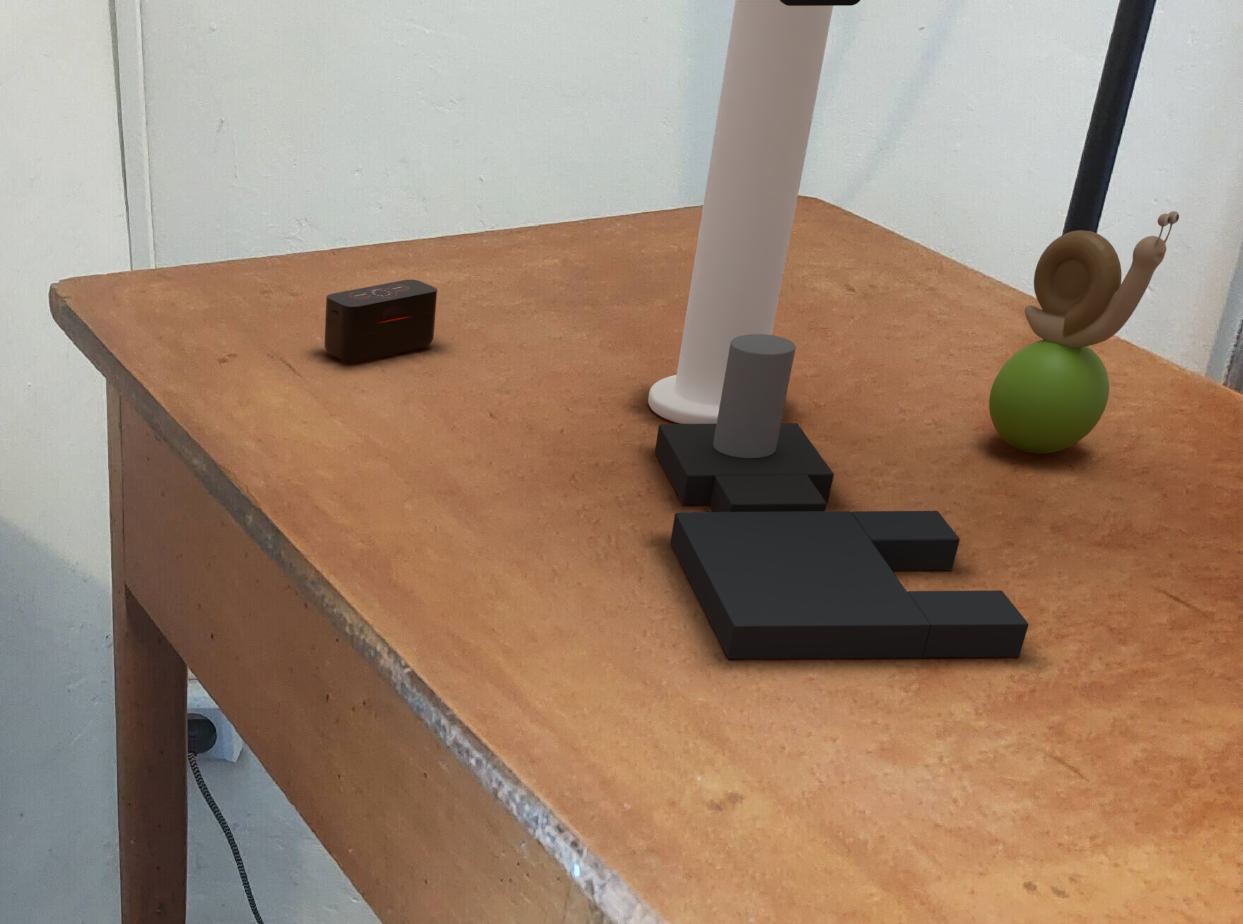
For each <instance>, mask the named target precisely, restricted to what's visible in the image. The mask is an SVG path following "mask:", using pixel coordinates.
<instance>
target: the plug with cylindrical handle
mask: <svg viewBox="0 0 1243 924" xmlns="http://www.w3.org/2000/svg"><path fill="white" fill-rule="evenodd" d="M796 349H797V348H796V344H795V343H794V342H793V341H792V340H790V339H787V338H785V337H782V336H779V335H773V334H772V335H765V334H750V335H743V336H738V337H736V338H734V339H733V340H732V341H731V343H730V349H729V355H728V360H727V366H726V372H725V378H724V384H723V389H722V395H721V401H720V407H719V412H718V418H717V424H679V423H660V424H658V428H657V435H656V442H655V448H654V454H655V455H656V458H657V459H658V461H659V463H660V465H661V467H662V469H663V470H664V472H665V475H666V476H667V478H668V480H669V482H670V484H671V485H672V486H671V487H672V488H673V489H674V491H675V493H676V495H677V497H678V499H679V501H680V503H681V504H682V505H683V506H710V508H711V509H712V512H791V511H827V510H826V509H827V505H828V504H829V499H830V496H831V490H832V486H833V481H834V477H835V474H834V472H833V471H832V469H831V467H829V465H828V463H827V462H826V461H825V459H824V458H823V456H822V455H821V454H820V453H819V451H818V450H817V448H816V447H815V446H814V444H813V443H812V441H811V440H810V438H809V437H808V436H807V434H806V432H804V430H803V428H802V427H801V426H800V425H799V423H798V422H782V419H783V416H784V415H783V414H784V409H785V404H786V399H787V394H788V388H789V384H790V380H791V375H792V374H791V373H792V368H793V363H794V358H795V353H796Z"/></svg>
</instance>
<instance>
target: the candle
mask: <svg viewBox="0 0 1243 924" xmlns="http://www.w3.org/2000/svg"><path fill="white" fill-rule="evenodd" d="M833 9H834V6H787V5H785V4H783V3H782V2H780V0H734V6H733V13H732V21H731V26H730V33H729V37H728V38H729V39H728V44H727V45H728V46H727V51H726V58H725V64H724V70H723V71H724V72H723V76H722V84H721V88H720V89H721V90H720V96H719V103H718V108H717V115H716V121H715V128H714V135H713V141H712V148H711V154H710V159H709V160H710V162H709V167H708V172H707V180H706V186H705V191H704V199H703V204H702V211H701V217H700V224H699V230H698V236H697V243H696V250H695V256H694V260H693V261H694V262H693V268H692V276H691V280H690V286H689V293H688V294H689V295H688V300H687V308H686V313H685V319H684V325H683V331H682V340H681V345H680V352H679V358H678V365H677V370H676V374H674V375H670V376H666V377H663V378H661V379H660V380H658V381H656V382H654V383H653V385H652V386H651V387H650V389H649V392H648V397H647V403H648V406H649V408H650V409H651V411H652V412H654V413H655V414H656V415H658V416H660V417H661V418H663V419H665V420H667V421H670V422H673V423H675V424H717V418H718V412H719V407H720V401H721V395H722V389H723V384H724V378H725V372H726V366H727V360H728V355H729V349H730V343H731V341H732V340H733V339H734V338H736V337H738V336H743V335H750V334H765V335H773V331H774V326H775V321H776V316H777V311H778V304H779V299H780V295H781V288H782V282H783V278H784V274H785V273H784V272H785V267H786V263H787V258H788V257H787V256H788V251H789V247H790V241H791V235H792V231H793V224H794V219H795V214H796V208H797V203H798V198H799V192H800V186H801V181H802V175H803V171H804V166H805V160H806V156H807V155H806V154H807V150H808V149H807V148H808V143H809V140H810V139H809V137H810V132H811V127H812V122H813V117H814V111H815V106H816V100H817V95H818V89H819V84H820V79H821V73H822V69H823V63H824V58H825V52H826V48H827V41H828V36H829V30H830V26H831V20H832V14H833Z"/></svg>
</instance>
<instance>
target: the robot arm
mask: <svg viewBox="0 0 1243 924" xmlns="http://www.w3.org/2000/svg"><path fill="white" fill-rule="evenodd" d="M780 2H782V3H783V4H785V5H787V6H833V7H835V6H836V7H837V6H839V7H840V6H841V7H843V6H846V7H847V6H850V7H852V6H855V5H857V4H859V2H861V0H780Z"/></svg>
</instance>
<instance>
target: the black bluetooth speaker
mask: <svg viewBox="0 0 1243 924" xmlns="http://www.w3.org/2000/svg"><path fill="white" fill-rule="evenodd" d="M437 297H438V288H437V287H435V286H432V285H430V284H428V283H426V282H423V281H421V280H417V279H403V280H396V281H391V282H386V283H382V284H376V285H371V286H367V287H360V288H354V289H350V290H345V291H339V292H334V293H330V294H327V295H326V297H325V322H324V343H323V344H324V349H325V351H326V352H327V353H328V354H329V355H331V356H333V357H334V358H337V359H339V360H340V361H343V362H344V363H347V364H348V363H349V364H350V363H358V362H361V361H362V362H363V361H366V360H371V359H372V360H373V359H375V358H381V357H386V356H390V355H396V354H400V353H405V352H411V351H414V350H420V349H424V348H426V347H429V346H431V344H432V342H433V341H434V338H435V337H434V336H435V323H436V313H437Z"/></svg>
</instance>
